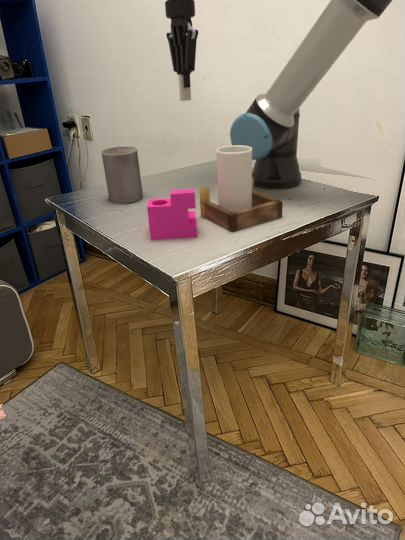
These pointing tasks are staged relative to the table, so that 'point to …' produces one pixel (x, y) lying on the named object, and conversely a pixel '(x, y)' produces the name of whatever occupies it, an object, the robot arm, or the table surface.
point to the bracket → (173, 216)
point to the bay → (241, 211)
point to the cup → (234, 177)
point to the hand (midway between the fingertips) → (185, 100)
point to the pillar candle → (122, 174)
